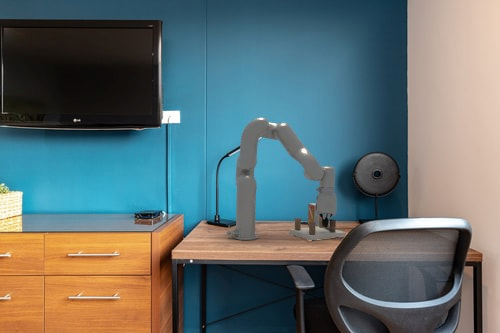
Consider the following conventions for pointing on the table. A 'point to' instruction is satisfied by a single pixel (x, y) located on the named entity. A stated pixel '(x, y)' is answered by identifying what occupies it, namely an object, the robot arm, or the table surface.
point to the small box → (312, 214)
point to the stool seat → (314, 231)
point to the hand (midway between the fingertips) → (325, 226)
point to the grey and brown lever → (331, 225)
